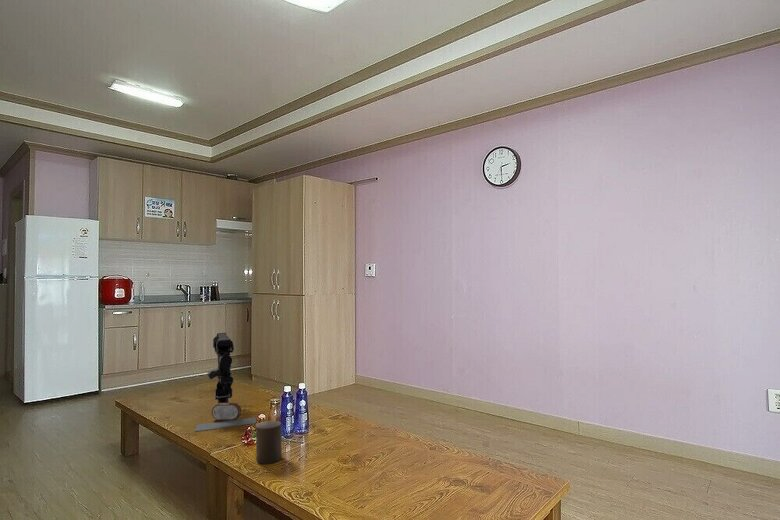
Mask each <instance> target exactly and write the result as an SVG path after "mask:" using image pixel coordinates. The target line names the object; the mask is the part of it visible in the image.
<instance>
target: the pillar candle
mask: <svg viewBox="0 0 780 520" xmlns="http://www.w3.org/2000/svg"><path fill="white" fill-rule="evenodd" d="M255 425H256V427H255V433H256V434H255V438H256V439H255V440H256V441H255V442H256V443H255V445H256V446H255V447H256V448H255V449H256V451H255V452H256V454H255V457H256V458H255V459H256V460H255V461H256V462H257V463H258V464H262V465H268V464H275V463H277V462H279V461H280V460H282V457H283V455H282V422H281V421H279V420H268V421H261V422H258V423H256V424H255Z"/></svg>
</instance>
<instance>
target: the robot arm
mask: <svg viewBox="0 0 780 520" xmlns="http://www.w3.org/2000/svg"><path fill="white" fill-rule="evenodd" d="M212 348H213V349H214V350H213V351H214V353H215V354H216V356H217V368H214V369H212V370H209V371H208V372H207V376H208V380H210V381H211V380H213V379H214V378H216V377H217V379H218V382H217V383H216V387H215V388H214V400H215V401H217V404H218V403H230V401H229V399H232V398H233V388H232V384H233V383H234V377H233V375H232V371H231V370H232V369H231V368H232V364H233V358H232V357H231V353H234V351H235V350H234V342H233V340H231V338H230V337H229V336H228V335H227V332H218V333H216V336H214V337H213V339H212Z"/></svg>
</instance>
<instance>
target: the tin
mask: <svg viewBox="0 0 780 520" xmlns="http://www.w3.org/2000/svg"><path fill="white" fill-rule="evenodd" d="M241 414H242V408H241V406H240V405H239V403H236V402H229V403H218V402H217V403H216V404H215V405H214V406H213V407H212V409H211V416H212V418H213V419H215V420H216V421H230V420H238V419H239V418H240V416H241Z"/></svg>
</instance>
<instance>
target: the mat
mask: <svg viewBox="0 0 780 520" xmlns="http://www.w3.org/2000/svg"><path fill="white" fill-rule="evenodd" d="M247 425H257V419H256V417H255V416H254V417H245V418H237V419H235V420H221V421H217V422H210V423H207V422H206V423H202V424H196V426H195V429H194V432H196V431H198V432H204V431H203V430H205V431H210V429H212V430H218V428H220V429H225V428H226V429H227V428H232V427H233V428H234V427H240V426H247Z"/></svg>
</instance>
